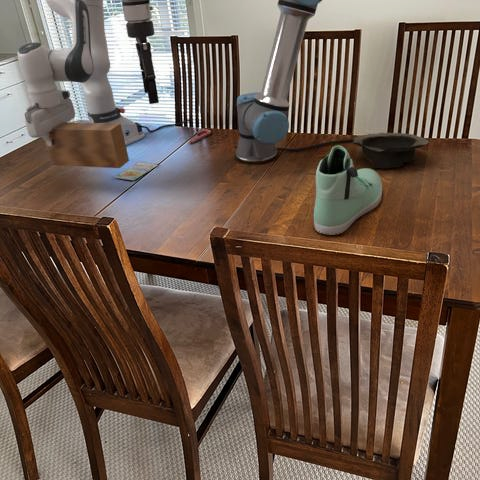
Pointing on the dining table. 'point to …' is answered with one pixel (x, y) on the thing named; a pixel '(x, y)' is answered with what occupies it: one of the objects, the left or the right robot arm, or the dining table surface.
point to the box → (88, 145)
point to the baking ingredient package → (136, 171)
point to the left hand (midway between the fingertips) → (58, 140)
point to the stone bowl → (389, 148)
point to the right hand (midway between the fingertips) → (151, 97)
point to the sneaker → (343, 192)
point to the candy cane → (200, 135)
